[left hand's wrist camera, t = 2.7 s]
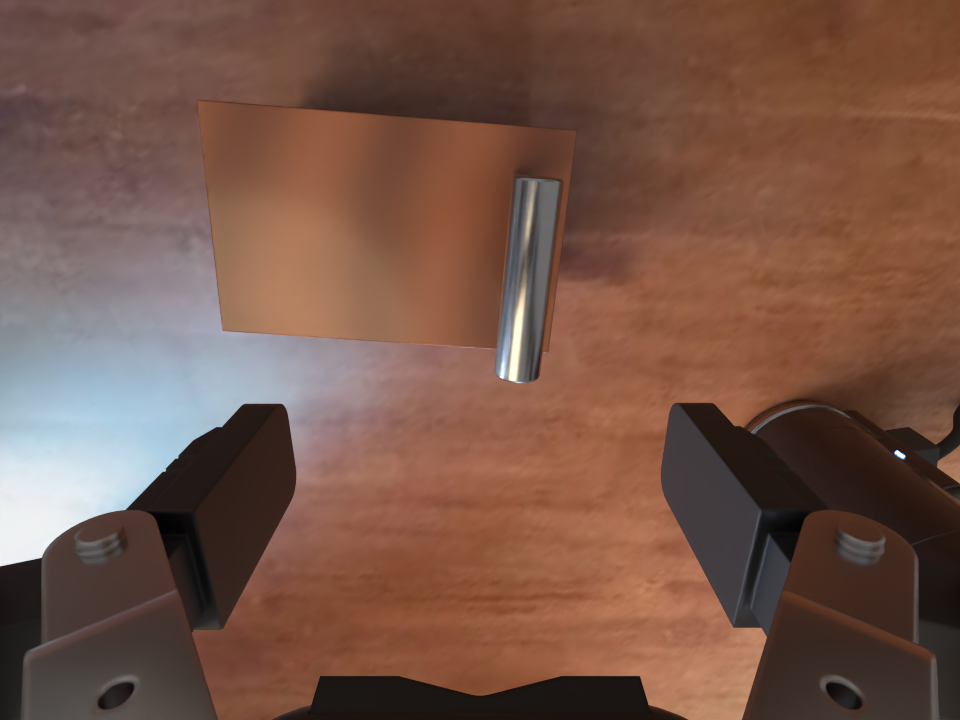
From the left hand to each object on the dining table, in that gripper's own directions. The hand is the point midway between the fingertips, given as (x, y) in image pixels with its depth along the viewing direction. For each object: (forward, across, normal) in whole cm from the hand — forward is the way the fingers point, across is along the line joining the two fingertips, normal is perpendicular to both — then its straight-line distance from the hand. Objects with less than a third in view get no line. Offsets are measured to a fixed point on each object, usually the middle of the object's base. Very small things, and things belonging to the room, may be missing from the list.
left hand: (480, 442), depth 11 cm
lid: (+15, -4, +2) cm, 15 cm away
